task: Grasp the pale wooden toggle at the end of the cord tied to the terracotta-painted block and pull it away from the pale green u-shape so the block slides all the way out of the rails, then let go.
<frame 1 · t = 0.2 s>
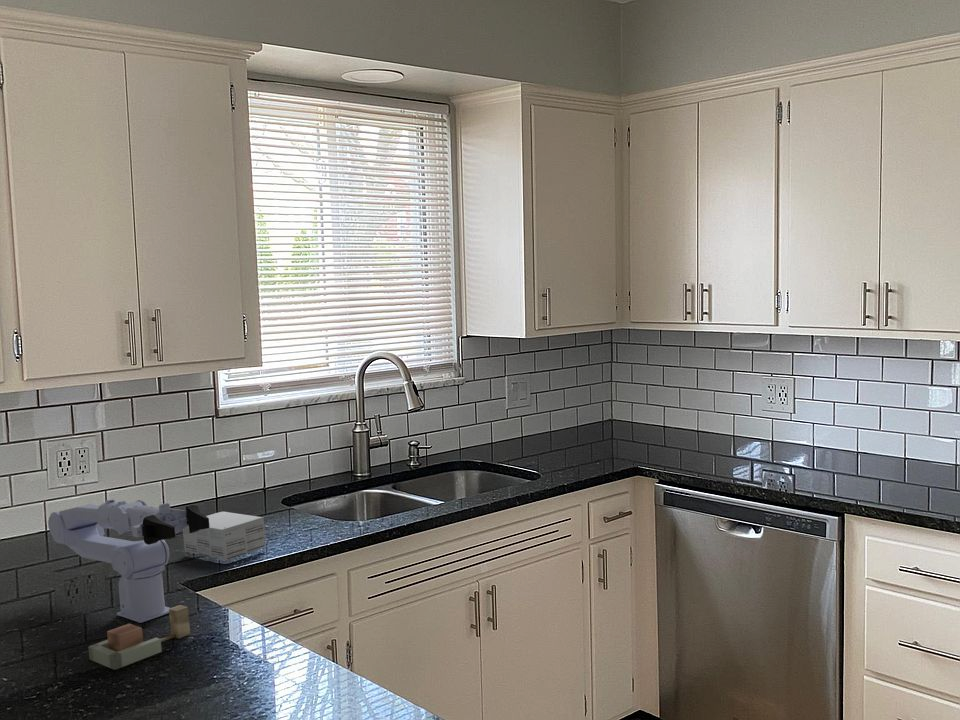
hand: (190, 527, 183), 21 cm above the countertop, tool horizontal, fingers open, 7 cm apart
pale green u-shape: (124, 656, 175), on the countertop
supplement box: (226, 555, 240), on the countertop
corded block: (127, 655, 176), on the countertop
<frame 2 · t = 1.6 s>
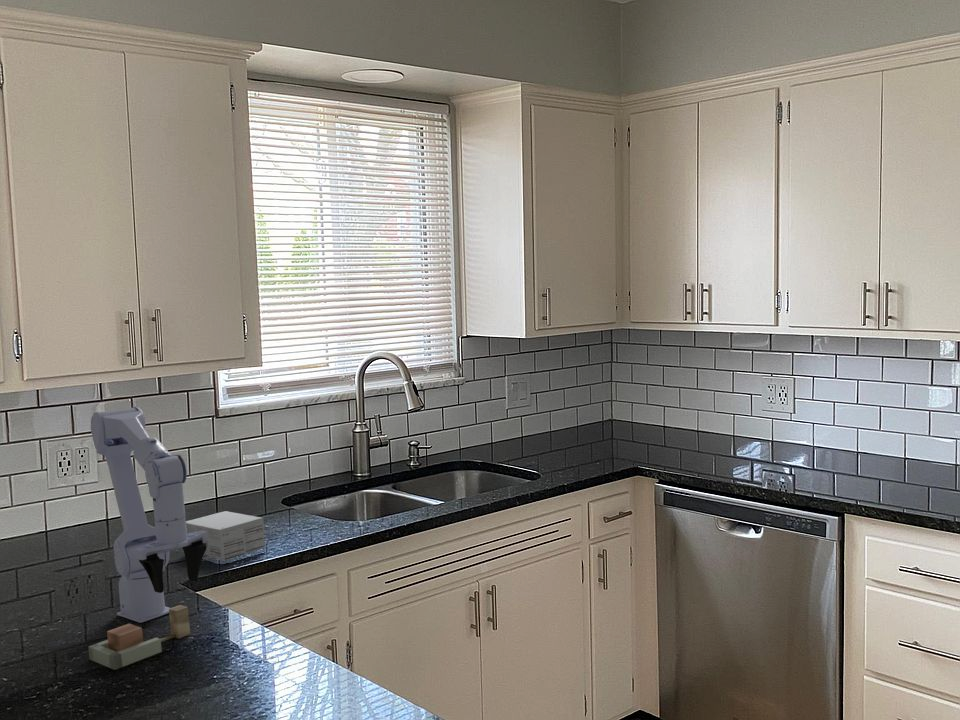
hand: (176, 585, 184), 10 cm above the countertop, tool pointing down, fingers open, 7 cm apart
nothing on the countertop moved.
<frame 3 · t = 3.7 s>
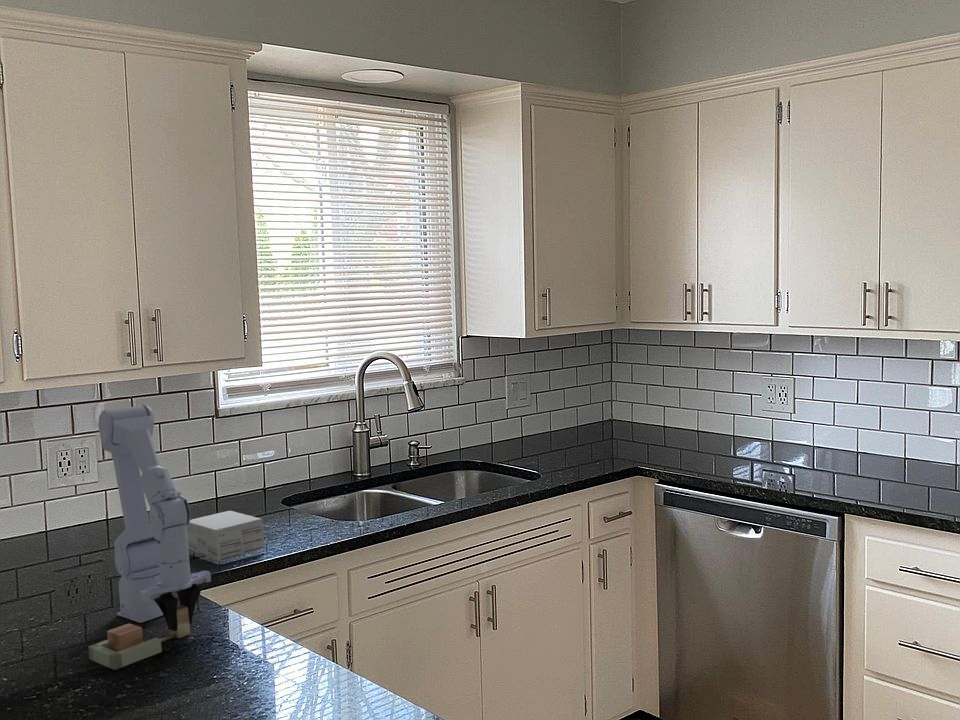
hand: (180, 626, 184), 2 cm above the countertop, tool pointing down, fingers closed on corded block, 3 cm apart
corded block: (127, 655, 176), on the countertop, touching gripper
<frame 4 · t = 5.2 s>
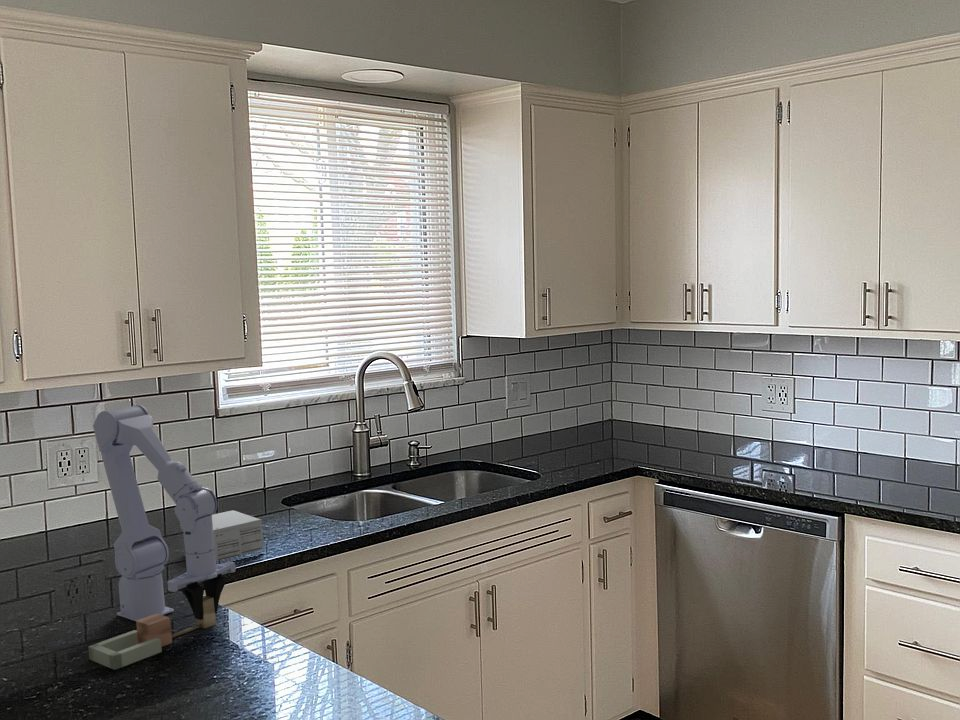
hand: (205, 615, 189), 2 cm above the countertop, tool pointing down, fingers closed on corded block, 3 cm apart
corded block: (155, 644, 180), on the countertop, touching gripper
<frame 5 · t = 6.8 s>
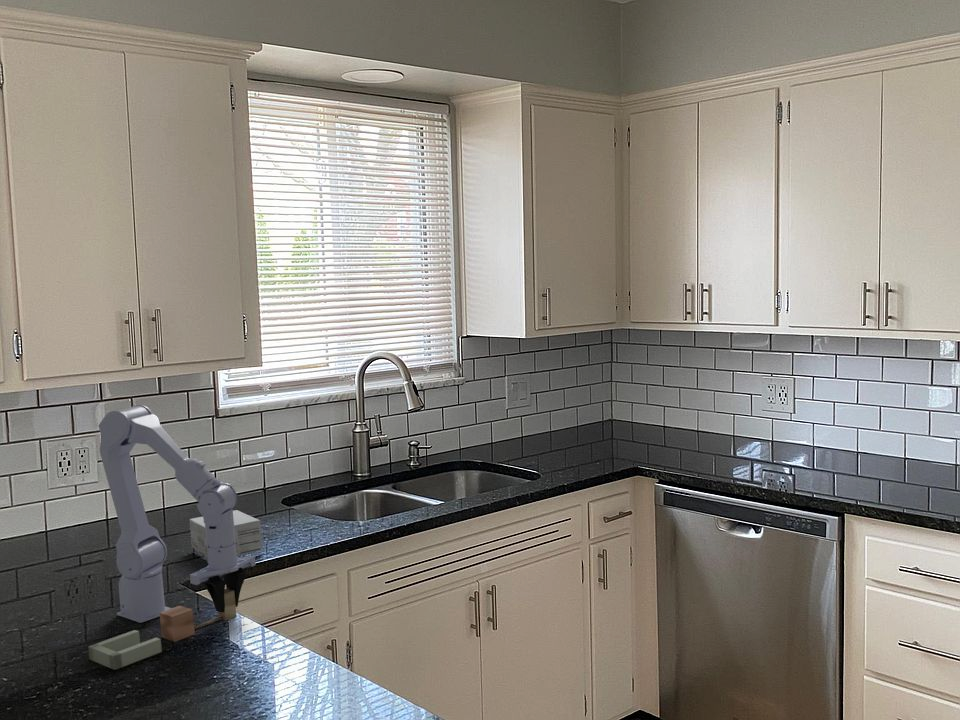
hand: (226, 608, 193), 2 cm above the countertop, tool pointing down, fingers closed on corded block, 3 cm apart
corded block: (178, 635, 184), on the countertop, touching gripper
when the fingers open (2 cm above the countertop, at t = 7.2 s): corded block stays where it is, on the countertop.
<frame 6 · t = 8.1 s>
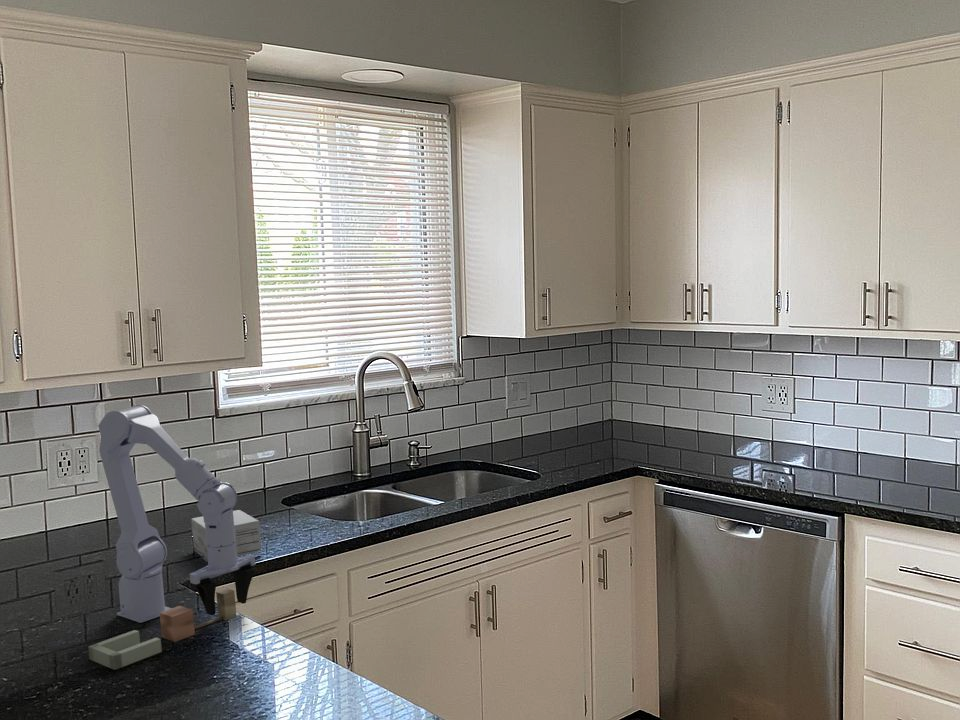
hand: (226, 608, 193), 2 cm above the countertop, tool pointing down, fingers open, 7 cm apart
corded block: (178, 635, 184), on the countertop
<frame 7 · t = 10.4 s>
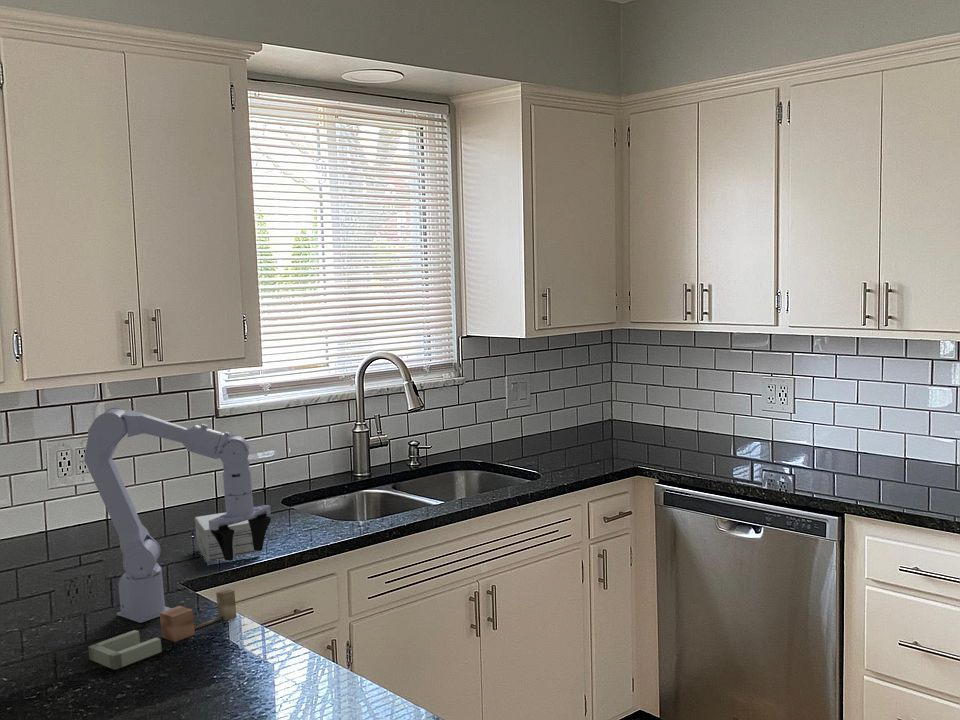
hand: (243, 554, 201), 10 cm above the countertop, tool pointing down, fingers open, 7 cm apart
at the end: corded block inside the target area (1.2 cm from its centre), on the countertop; corded block moved 11.0 cm from its start; the gripper is holding nothing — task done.
